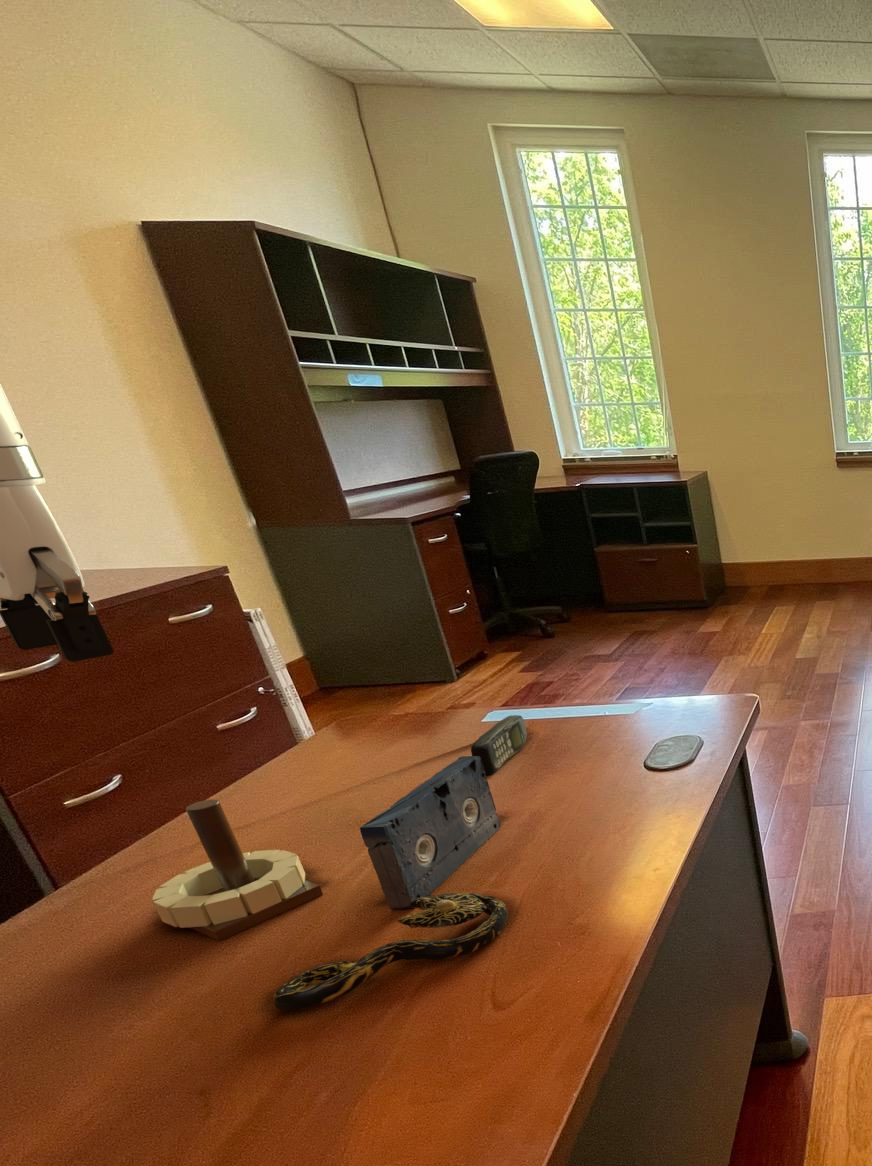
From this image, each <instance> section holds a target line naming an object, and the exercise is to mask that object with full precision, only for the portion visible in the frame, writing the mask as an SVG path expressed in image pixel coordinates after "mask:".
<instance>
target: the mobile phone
mask: <svg viewBox="0 0 872 1166" xmlns="http://www.w3.org/2000/svg"><path fill="white" fill-rule="evenodd" d="M527 738H528V733H527V727H526V723H525V719H524V718H523V717H522V715H519V714H514V715H508V716H505V718H502V719H501V720H500V721H498V722H497V723H495V724H494V725H493V726H492V727H491V728H489V730H487V731H486V732H485V733H483V734H482V735H481V736H479V737H478V739H476V740H475V741H474V742H473V743H472V744H471V746H470V753H471V756H480V758H481V760H480V761H482V764H483V766H484V770H485V774H486V775H492V774H494V773H497V771H498V770H499V769H500V768H501V767H502V766H504V764H505V763H507V761H509V760H510V759H511V758H512V757H513V756H515V755H516V754H517V753H519V752H520V751H521V750H522V749H523V748H524V746H525V744H526V741H527V740H528V739H527Z"/></svg>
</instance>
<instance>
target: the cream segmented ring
mask: <svg viewBox="0 0 872 1166" xmlns="http://www.w3.org/2000/svg"><path fill="white" fill-rule="evenodd" d="M242 853H243V856H244V858H245V860H246V862H247V865H248V867H249V869H250V871H251V874H252V876H253V878H260V879H259V880H257V881H254V882H252V883H250V884H247V885H245V886H242V887H240V888H238V889H234V890H230V891H226V892H222V893H218V894H214V895H207V896H204V895H205V894H208V893H210V892H213V891H215V890H218V889H220V888H223V887H222V885H221V883H220V881H219V879H218V877H217V875H216V872H215V870H214V868H213V866H212V864H211V862H210V861H208V862H206V863H203V864H200V865H197V866H194V867H193V868H190V869H187V870H184V871H183V873H179V874H177V875H175V876H174V877H172V878H171V879H169V880H167V881H166V882H164V883H163V884H161V885H160V886H158V888H156V889H155V892H154V893H153V895H152V898H151V902H152V904H153V906H154V908H155V911H156V912H157V914H158V916H159V918H160V920H161V921H162V922H163V923H165V924H167V925H169V926H171V927H173V928H180V929H184V928H189V927H201V926H209V925H210V924H211V923H213V924H214V925H216V924H220V923H224V922H227V921H231V920H235V919H239V918H243V917H246V916H247V915H248V912H249V913H252V914H254V913H257V912H259V911H261V910H263V909H266V908H268V907H270V906H272V905H275V904H277V903H279V902H281V899H287V898H288V897H289V896H291V895H292V894H293V893H294V892H296V891H297V890H298V889H299V888H301V887H302V884H304V882H305V880H306V872H305V870H304V867H303V865H302V862H301V860H300V857H299V856H298V855H297V853H293V852H290V851H287V850H284V849H282V850H280V849H265V850H264V849H263V850H254V851H252V852H250V851H246V852H242Z"/></svg>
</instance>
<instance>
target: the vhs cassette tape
mask: <svg viewBox="0 0 872 1166" xmlns="http://www.w3.org/2000/svg"><path fill="white" fill-rule="evenodd" d="M480 760H481V758H480V756H472V755H465V756H459V757H458V758H457V759H456V760H454V761H453V762H450V764H448V765H447V766H445V767H444V768H442V769H441V770H440V771H438V772H436V773H434V775H432V776H431V777H429V778H428V779H427V780H425V781H424V782H422V783H420V784H419V785H418V786H416V787H415V788H414V789H412V790H410V792H409V793H407V794H406V795H404V796H403V797H401V798H399V799H398V800H397V801H396V802H394V804H392V805H391V806H390V808H387V809H386V810H385V811H382V812H381V813H379V814H377V815H376V816H374V817H373V818H371V819H370V820H368V821H367V822H366V823H365V824H363V825H361V826H360V827H359V830H360V834H361V837H362V840H363V843H364V845H365V847H366V848H367V853H368V857H369V858H370V861H371V863H372V866H373V869H374V871H375V873H376V875H377V878H378V881H379V884H380V887H381V890H382V892H383V894H384V898H385V899H386V902H387V905H388V907H389V908H390V909H397V910H398V909H399V910H400V909H411V908H412V909H416V908H415V907H411V905H410V902H411V901H412V900H414V899H417V898H421V897H426V896H430V895H431V894H432V893H433V892H434V891H435V890H436V889H437V888H439V886H440V885H441V884H442V883H444V882H445V881H446V880H447V879H448V878H449V877H450V876H451V875H452V874H453V873H454V872H455V871H457V870H458V869H459V867H460V866H461V865H463V863H465V862H466V861H467V860H468V859H469V858H470V857H471V856H472V855H474V854H475V852H477V851H478V850H479V848H481V847H482V846H483V845H484V844H485V843H486V842H487V841H489V839H490V838H492V836H493V835H494V834H496V833H497V832H498V831H499V829H500V828H501V826H502V825H501V821H500V818H499V815H498V813H497V812H496V811H497V808H496V804H495V802H494V797H493V794H492V791H491V789H490V784H489V782H488V778H487V774H485V770H484V766H483V764H482V761H480Z"/></svg>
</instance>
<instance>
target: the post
mask: <svg viewBox="0 0 872 1166" xmlns="http://www.w3.org/2000/svg"><path fill="white" fill-rule="evenodd" d="M185 811H186V813H187V815H188V817H189V819H190V821H191V823H192V826H193V828H194V830H195V832H196V834H197V836H198V838H199V841H200V843H201V845H202V847H203V850H204V851H205V853H206V856H207V858H208V859H209V862H211V864H212V866H213V868H214V870H215V872H216V875H217V877H218V879H219V881H220V883H221V885H222V887H221V888H219V889H216V890H214V891H211V892H209V893H207V894H205V895H204V896H207V895H214V894H218V893H222V892H226V891H230V890H234V889H238V888H240V887H242V886H245V885H247V884H250V883H252V882H254V881H257V880H259V879H260V878H253V876H252V874H251V871H250V869H249V867H248V865H247V862H246V860H245V858H244V856H243V853H244V852H243V851H242V850H241V849H242V848H241V847H240V844H239V843H238V840H237V838H236V835H235V834H234V831H233V829H232V826H231V824H230V822H229V820H228V818H227V816H226V814H225V811H224V809H223V806H222V805H221V802H220V800H218V799H204V800H201V801H197V802H194V803H191V804H189V805H187V806H186V808H185ZM321 896H324V893H323V890H322V888H321V885H319V884H317V883H314V882H311V881H308V880H307V879H305V882H304V884H302V887H301V888H299V889H298V890H297V891H296V892H294V893H293V894H292V895H291V896H289V897H288V898H287V899H281V902H279V903H277V904H275V905H272V906H270V907H268V908H266V909H263V910H261V911H259V912H257V913H254V914H252V913H249V912H248V915H247V916H246V917H243V918H239V919H235V920H231V921H227V922H224V923H220V924H216V925H214V924H213V923H211V924H210V925H209V926H201V927H188V929H191V930H193V931H195V932H198V933H200V934H203V935H204V936H207V937H209V938H210V939H211V938H212V939H213V940H216V941H218V942H221V941H223V940H226V939H228V938H230V937H232V936H234V935H237V934H239V933H241V932H244V931H246V930H248V929H250V928H252V927H254V926H257V925H259V924H261V923H263V922H266V921H267V920H270V919H272V918H274V917H277V916H279V915H281V914H283V913H286V912H288V911H290V910H293V909H294V908H296V907H299V906H301V905H302V904H306V903H307V902H309V901H313V900H315V899H316V898H318V897H321Z"/></svg>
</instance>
